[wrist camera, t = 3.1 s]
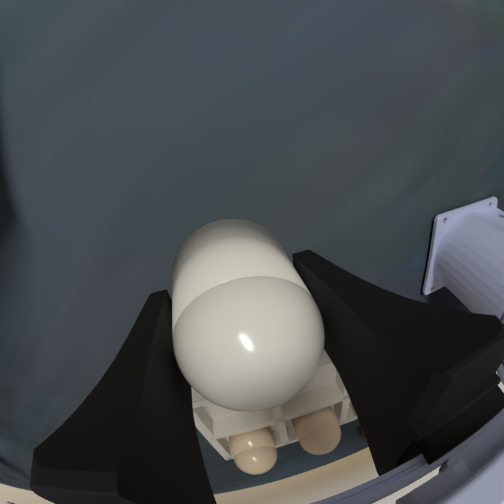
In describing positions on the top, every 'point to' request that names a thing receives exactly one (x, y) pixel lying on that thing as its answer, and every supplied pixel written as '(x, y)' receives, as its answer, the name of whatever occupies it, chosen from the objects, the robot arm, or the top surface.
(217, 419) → the egg carton
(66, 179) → the top surface
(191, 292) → the cream egg
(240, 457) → the brown egg
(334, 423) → the brown egg middle
